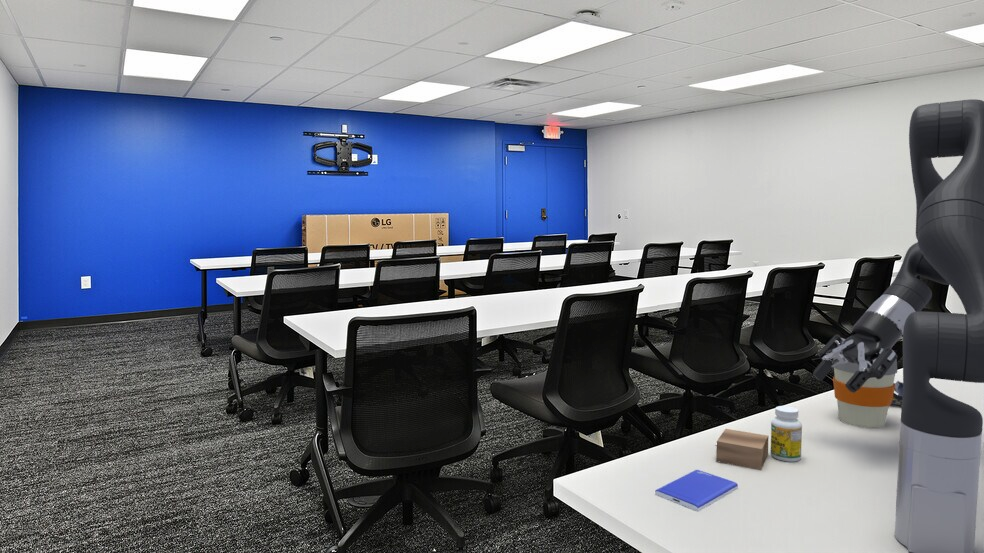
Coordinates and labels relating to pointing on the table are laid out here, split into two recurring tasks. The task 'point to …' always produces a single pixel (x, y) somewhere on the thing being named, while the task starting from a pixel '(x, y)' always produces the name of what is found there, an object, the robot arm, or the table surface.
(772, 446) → the supplement bottle
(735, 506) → the table surface
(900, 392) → the snack package
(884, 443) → the table surface
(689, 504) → the hard drive
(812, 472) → the table surface
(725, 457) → the walnut base block
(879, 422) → the reusable coffee cup
